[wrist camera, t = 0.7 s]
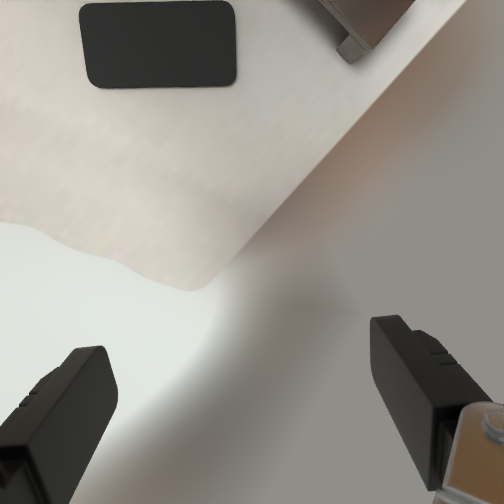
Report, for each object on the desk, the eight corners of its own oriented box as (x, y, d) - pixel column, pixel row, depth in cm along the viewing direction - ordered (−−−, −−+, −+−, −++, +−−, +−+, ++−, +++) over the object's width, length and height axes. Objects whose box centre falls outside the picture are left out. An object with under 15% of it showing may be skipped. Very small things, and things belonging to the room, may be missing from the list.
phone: (76, 2, 33) (234, -2, 33) (80, 5, 34) (234, 2, 34) (88, 88, 35) (236, 85, 35) (92, 89, 36) (236, 86, 36)
